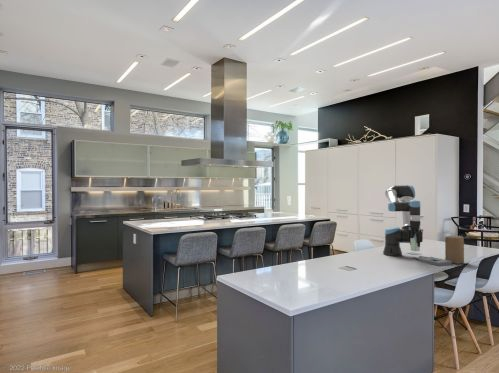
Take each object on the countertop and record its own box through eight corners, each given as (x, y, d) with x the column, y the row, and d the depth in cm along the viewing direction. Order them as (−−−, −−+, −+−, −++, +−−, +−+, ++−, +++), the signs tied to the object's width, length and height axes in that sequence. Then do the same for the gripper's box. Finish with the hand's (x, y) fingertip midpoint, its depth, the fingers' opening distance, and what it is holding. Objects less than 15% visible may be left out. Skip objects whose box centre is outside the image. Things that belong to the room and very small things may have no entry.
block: (444, 262, 263) (444, 236, 264) (450, 260, 269) (450, 235, 270) (459, 264, 255) (458, 237, 256) (464, 262, 262) (464, 236, 262)
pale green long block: (410, 250, 267) (410, 237, 267) (414, 249, 269) (414, 236, 269) (415, 251, 263) (415, 238, 263) (419, 250, 265) (419, 237, 265)
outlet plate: (418, 261, 268) (418, 258, 268) (431, 259, 273) (431, 256, 273) (438, 265, 251) (438, 262, 251) (451, 264, 256) (451, 261, 256)
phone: (413, 259, 275) (413, 258, 275) (422, 257, 281) (422, 256, 281) (420, 260, 270) (420, 259, 270) (429, 259, 276) (429, 257, 276)
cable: (419, 256, 285) (419, 255, 285) (419, 256, 285) (419, 255, 285) (434, 259, 275) (434, 258, 275) (435, 259, 276) (435, 257, 276)
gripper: (402, 219, 272) (402, 248, 273) (420, 221, 256) (420, 252, 256) (409, 219, 275) (409, 247, 276) (428, 221, 259) (428, 252, 259)
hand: (415, 250), depth 266 cm, fingers closed on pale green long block, 4 cm apart
